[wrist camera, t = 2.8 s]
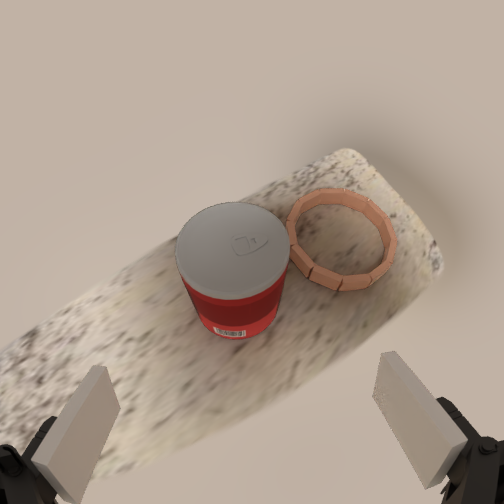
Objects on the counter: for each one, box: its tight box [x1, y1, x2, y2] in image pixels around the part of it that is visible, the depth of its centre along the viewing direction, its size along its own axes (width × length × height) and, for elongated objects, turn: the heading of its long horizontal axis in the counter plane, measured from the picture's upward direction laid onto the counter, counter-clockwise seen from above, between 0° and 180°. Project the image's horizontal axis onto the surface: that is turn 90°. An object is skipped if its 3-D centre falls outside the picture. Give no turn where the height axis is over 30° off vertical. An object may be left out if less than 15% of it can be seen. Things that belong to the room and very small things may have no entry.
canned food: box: [175, 202, 290, 339], centre depth 25 cm, size 8×8×11 cm
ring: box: [285, 188, 397, 291], centre depth 33 cm, size 13×13×2 cm
